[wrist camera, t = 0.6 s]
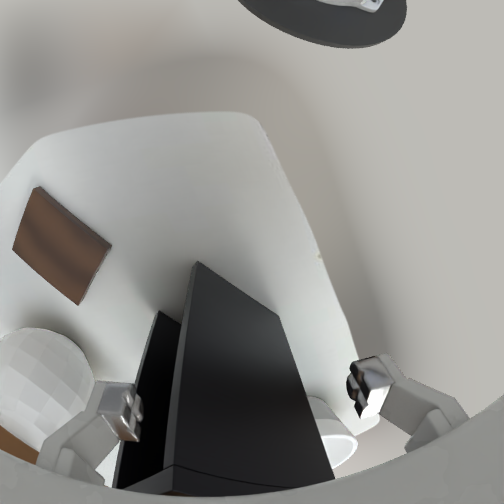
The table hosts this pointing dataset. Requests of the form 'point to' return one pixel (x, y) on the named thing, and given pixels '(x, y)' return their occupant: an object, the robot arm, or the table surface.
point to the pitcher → (41, 383)
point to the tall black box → (221, 403)
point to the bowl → (332, 433)
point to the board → (59, 246)
